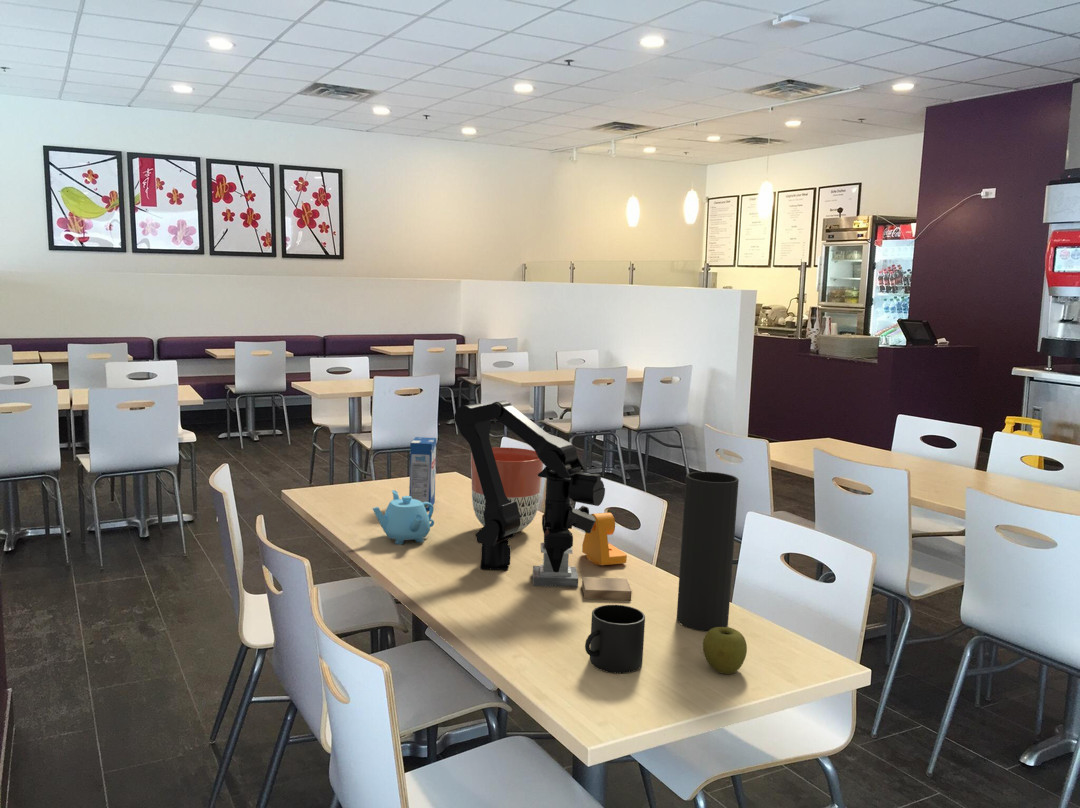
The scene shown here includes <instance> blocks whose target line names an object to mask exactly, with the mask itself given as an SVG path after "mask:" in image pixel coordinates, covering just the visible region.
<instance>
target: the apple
mask: <svg viewBox="0 0 1080 808" xmlns="http://www.w3.org/2000/svg"><path fill="white" fill-rule="evenodd" d="M702 640H703V641H702V651H703V655H704V658H705V660H706V663H708V665H709V666H710V667H711V668H712V669H713V670H714V671H716V672H717V673H719V674H724V675H731V674H735V673H736V672H738V670H740V668H741V667H742V665H743V664H744V662H745V659H746V657H747V653H748V652H747V651H748V647H747V645H748V644H747V640H746V638H745V637H744V635H743V633H741V632H740V631H738V630H737V629H735V628H732V627H729V626H727V627H715V628H712V629H710V630H709V631H706V633H705V635H704V636H703V639H702Z"/></svg>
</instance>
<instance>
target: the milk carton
mask: <svg viewBox="0 0 1080 808" xmlns="http://www.w3.org/2000/svg"><path fill="white" fill-rule="evenodd" d="M409 446H410V447H409V448H410V449H409V455H410V456H409V491H408V494H409V495H408V496H411V497H412V499H416V500H419V501H421V502H422V503H423V502H429V503H431V504H432V505H433V506H434V504H435V503H436V469H437V467H436V465H437V463H436V462H437V437H421V436H420V437H419V436H415V437H414V438H413V439H412V441H411V442H410V445H409ZM424 506H425V509H426V511H427V512H429V511H430V506H429V505H424Z"/></svg>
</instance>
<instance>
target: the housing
mask: <svg viewBox="0 0 1080 808" xmlns="http://www.w3.org/2000/svg"><path fill="white" fill-rule="evenodd" d="M572 547H573V546H572ZM572 547H571V548H570V549H568V550H566V551H565V552H564V555H563V558H562V562H561V565H560V569H559V572H554V571H553V569H552V566H551V563H550V560H549V557H548V554H547V552H546V549H545V546H544V542H540V553H541V554H542V553H543V561H542V564H539V566H540V575H551V576H571V568H570V567H571V565H569V557H570V556H569V554H573V548H572Z"/></svg>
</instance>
